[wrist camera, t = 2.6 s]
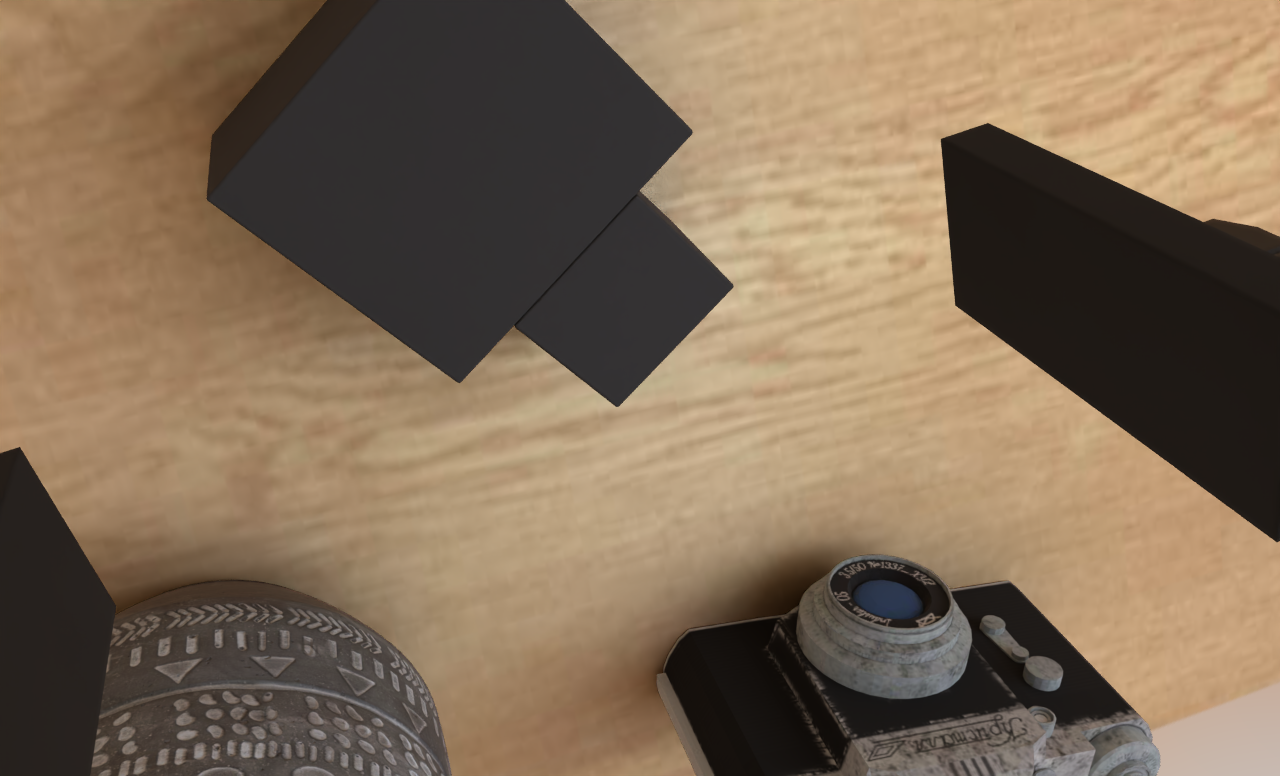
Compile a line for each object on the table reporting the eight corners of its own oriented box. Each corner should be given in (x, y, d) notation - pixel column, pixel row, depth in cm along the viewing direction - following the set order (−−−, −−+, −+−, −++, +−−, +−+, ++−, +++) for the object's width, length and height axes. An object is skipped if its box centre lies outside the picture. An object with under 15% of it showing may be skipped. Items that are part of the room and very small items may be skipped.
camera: (1050, 505, 42) (1253, 688, 34) (1013, 652, 45) (1191, 854, 37) (662, 556, 38) (783, 780, 29) (651, 714, 41) (757, 958, 32)
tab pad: (430, -121, 27) (465, -102, 23) (718, 170, 32) (790, 229, 28) (210, 136, 28) (205, 199, 24) (525, 376, 33) (566, 462, 29)
